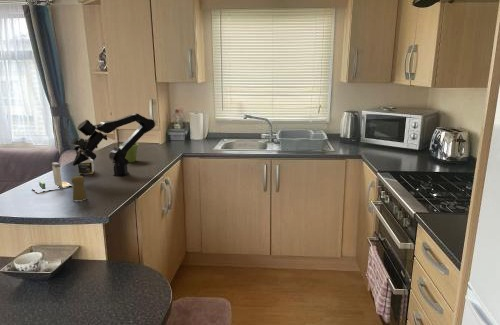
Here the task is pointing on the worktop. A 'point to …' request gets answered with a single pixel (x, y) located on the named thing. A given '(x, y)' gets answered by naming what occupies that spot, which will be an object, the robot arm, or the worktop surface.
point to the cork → (78, 188)
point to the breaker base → (64, 184)
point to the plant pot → (131, 153)
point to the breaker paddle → (57, 173)
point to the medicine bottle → (86, 167)
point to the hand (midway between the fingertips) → (73, 165)
